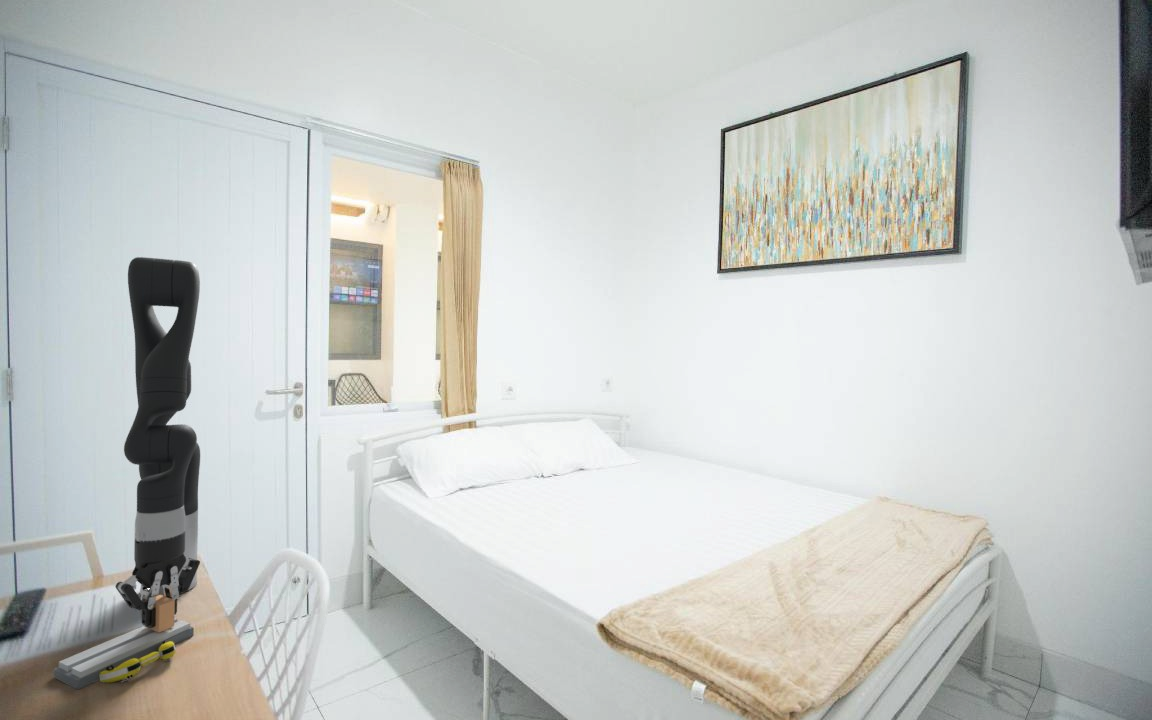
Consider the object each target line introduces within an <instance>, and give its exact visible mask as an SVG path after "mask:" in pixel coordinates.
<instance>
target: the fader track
mask: <svg viewBox="0 0 1152 720" xmlns="http://www.w3.org/2000/svg"><path fill="white" fill-rule="evenodd" d="M193 636H194V627H193V626H191V623H190V622H187V621H185V620H179V621H178V618H177V617H174V626H173V627H171V628H168V629H166V630H164V631H162V632H156V631H155V632H154V630H151V629H149V628H146V627H145V625H143V626H140V627H138V628H136V629H133V630H130V631H129V632H127V633H123V634H122V635H119V636H117V637H114V638H112V639H109V640H107V641H105V642H102V643H99V644H97V645H95V646H93V647H91V648H88V649H86V650H83V651H81V652H78V653H76V654H74V655H71V656H69V657H67V658H65V659H64V658H63V659H62V660H59V661H58V666H57V667H55V668H53V678H54V679H56V680H59V682H62V683H64V684H66V685H68V686H70V687H72V688H74V689H75V690H79V689H82V688H85V687H86V686H88V685H90V684H92V683H93V684H94V682H97V681H100V677H99V674H100V673H101V672H102V671H105V670H106V668H107V667H108V666H109V669H112V667H110V665H112V666H114V668H116V667H118V666H119V665H120V664H122V663H124V662H126V661H128V660H130V659H133V658H136V659H140V658H142V657H144V656H146V655H148V654H150V653H152V652H159V647H160V646H161V645H162V642H163V641H165V643H167V642H169V641H172V642H173V643H174V645H176V644H178V643H180V642H182V641H185V640H187V639H189V638H190V637H191V638H192V637H193Z"/></svg>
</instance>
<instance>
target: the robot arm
mask: <svg viewBox="0 0 1152 720" xmlns="http://www.w3.org/2000/svg"><path fill="white" fill-rule="evenodd" d="M200 281H201V280H200V273H199V270H198V266H197V265H196V264H195V263H193V262H191V261H186V260H179V259H166V258H156V257H155V258H154V257H143V256H141V257H139V256H138V257H134V258H133V259H131V260H130V262H129V265H128V269H127V284H128V285H127V286H128V287H127V288H128V295H129V301H130V308H131V309H130V310H131V317H132V321H133V322H132V324H133V330H134V348H135V349H134V353H135V354H134V355H135V357H134V359H135V363H134V364H135V367H134V368H135V369H134V370H135V387H136V396H137V405H138V406H137V412H136V415H135V417H134V419H133V423H132V425H131V426H130V430H129V432H128V434H127V436H126V439H125V441H124V446H123V452H124V456H125V458H126V459H127V461H128V462H129V463H131V464H133V465H138V473H139V477H140V480H139V481H138V482H137V487H136V514H135V521H134V544H133V545H134V549H133V550H134V551H133V553H134V557H133V558H134V564H135V566H134V569H133V570H132V572H131V576H130V577H128V578H127V579H125V580H124V581H118V582H117V583H116V584H115V589H116V591H117V592H118V593H119V594H120V596H121V597H122V599H123V601H124V602H125V603H126V604H127V606H128V607H129V608H131V609H135V611H141V624H142V625H143V626H146V627H148V628H153V627H155V625H156V608H155V607H154V606H155V602H156V596H158V595H162V596H165V597H168V598H171V599H174V600H175V616H176V615H177V613H178V612H177V611H178V598H179V597H180V595H182V594H183V593H187V592H188V591H190V590H191V589H193V588H195V586H197V583H198V569H199V566H200V564H201V561H200V560H199V559H198V549H199V548H198V543H199V542H198V541H199V540H198V538H199V537H198V535H199V533H198V531H199V475H200V468H201V448H200V446H199V443H198V442H197V441H198V440H197V439H198V438H197V437H198V436H197V434H196V431H195V430H194V429H193V428H192V427H191V426H190V425H188V424H168V422H170V420H171V419H172V418H173V417H174V415H176V414H177V413H178V412H180V411H183V410H184V409H185V408H186V406H187V400H188V399H189V398H190V395H191V393H192V366H191V365H192V364H191V362H190V354H191V347H192V342H193V338H194V333H195V326H196V320H197V314H198V307H199V301H200V289H201V288H200V286H201V282H200ZM156 306H157V307H169V308H171V307H172V308H173V307H174V308H177V313H176V317H175V320H174V322H173V324H172V326H171V327H170V329H169V330H168V331H167V332H166V331H165V329H164V328H163V326H162V324H161V323H160V322H159V320H158V318H157V315H156V312H155V309H154V307H156ZM137 582H138V583H139V584H140V588H139V593H140V596H139V595H138V593H137V592H136V591H135V590H136V589H137V585H136V583H137Z"/></svg>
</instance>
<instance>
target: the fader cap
mask: <svg viewBox="0 0 1152 720" xmlns="http://www.w3.org/2000/svg"><path fill="white" fill-rule="evenodd" d="M154 607H155V608H156V625H155V627H153V628H149V629H151V630H154V632H155V631H156V632H162V631H164V630H166V629H168V628H171V627H173V626H174V618H176V617H175V616H176V615H175V600H174V599H171V598H168V597H165V596H162V595H158V596H156V602H155V606H154ZM144 626H145V625H144ZM145 627H146V626H145ZM146 628H148V627H146Z"/></svg>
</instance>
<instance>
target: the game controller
mask: <svg viewBox="0 0 1152 720" xmlns="http://www.w3.org/2000/svg"><path fill="white" fill-rule="evenodd" d="M175 645H176V644H174V643H173V642H172V641H169V642H167V643H165V641H163V642H162V645H161V646H160V647H159V652H152V653H150V654H148V655H146V656H144V657H142V658H140V659H136V658H133V659H130V660H128V661H126V662H124V663H122V664H120V665H119V666H118V667H116V668H114V666H112V665H110V667H112V669H109V666H108V667H107V668H106V670H105V671H102V672H101V673H100V674H99V677H100V679H99V681H100V682H101V683H114V682H119V681H120V683H128V682H129V681H130V678H131V679H132V678H133V677H134V676H135V675H136V674H137V675H138V673H139V672H140V670H141V668H144V667H145V666H146V667H147V666H148V665H151V664H152V663H154V662H156V661H158V659H159V658H160V659H162V660H164V662H165V663H168V662H170V661H171V658H172V657H173V656H174V655H175V654H176V650H177V649H176V646H175Z"/></svg>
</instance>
